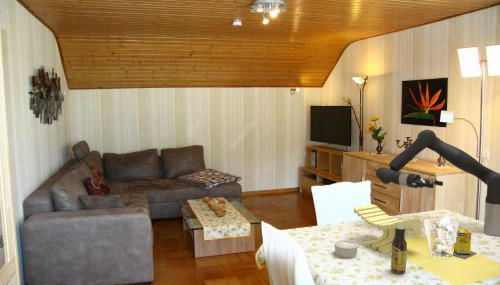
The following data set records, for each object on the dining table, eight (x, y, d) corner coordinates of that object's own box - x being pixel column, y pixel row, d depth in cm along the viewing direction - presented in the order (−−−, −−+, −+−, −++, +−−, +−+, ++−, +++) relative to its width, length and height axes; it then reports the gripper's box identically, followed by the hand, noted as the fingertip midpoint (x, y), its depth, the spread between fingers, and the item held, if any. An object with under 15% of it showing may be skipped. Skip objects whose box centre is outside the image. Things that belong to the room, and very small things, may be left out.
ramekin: (358, 251, 204) (358, 241, 203) (356, 260, 193) (357, 249, 193) (335, 249, 207) (335, 239, 207) (332, 257, 197) (332, 247, 196)
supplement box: (470, 255, 196) (471, 232, 194) (457, 254, 196) (458, 232, 195) (465, 250, 202) (466, 228, 200) (452, 250, 202) (453, 228, 201)
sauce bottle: (388, 268, 183) (389, 225, 181) (402, 268, 184) (403, 224, 182) (394, 275, 177) (395, 229, 175) (408, 274, 177) (410, 229, 175)
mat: (453, 247, 208) (453, 246, 208) (476, 253, 199) (476, 252, 199) (441, 252, 201) (441, 251, 201) (464, 259, 192) (464, 258, 192)
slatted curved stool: (420, 253, 200) (422, 217, 199) (396, 259, 193) (397, 222, 191) (376, 235, 227) (376, 203, 225) (353, 240, 220) (353, 207, 218)
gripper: (402, 174, 221) (430, 179, 208) (417, 171, 229) (445, 176, 216) (401, 188, 222) (430, 194, 209) (417, 185, 230) (445, 190, 217)
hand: (438, 185), depth 212 cm, fingers open, 8 cm apart
